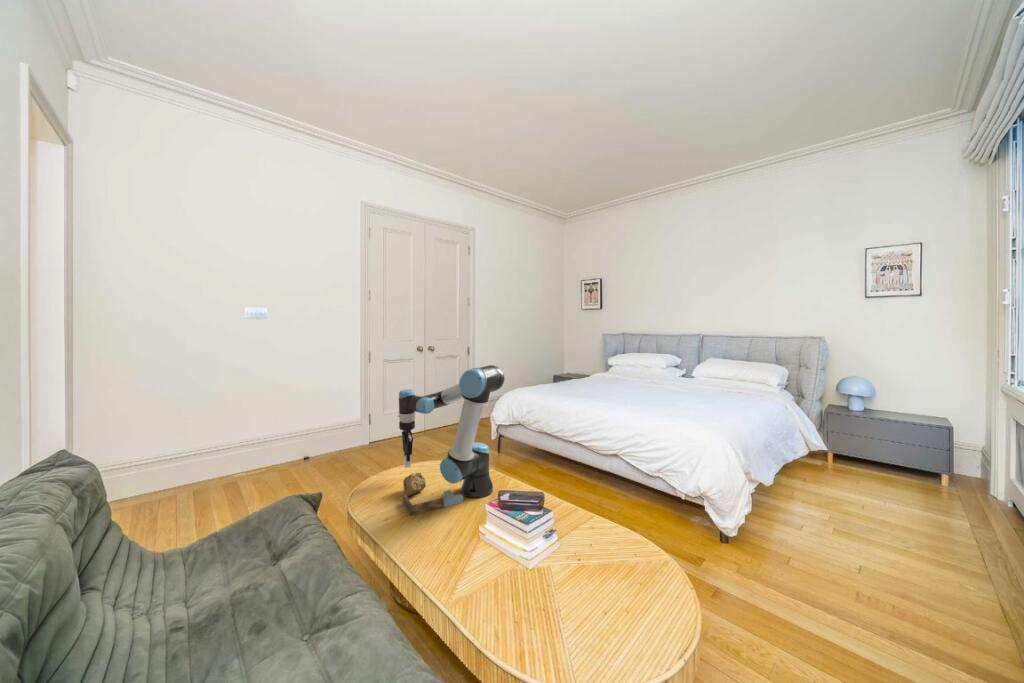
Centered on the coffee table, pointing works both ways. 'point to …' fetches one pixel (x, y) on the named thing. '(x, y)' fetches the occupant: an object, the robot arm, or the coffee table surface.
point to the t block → (452, 499)
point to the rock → (414, 483)
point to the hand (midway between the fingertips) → (407, 466)
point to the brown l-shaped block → (422, 505)
